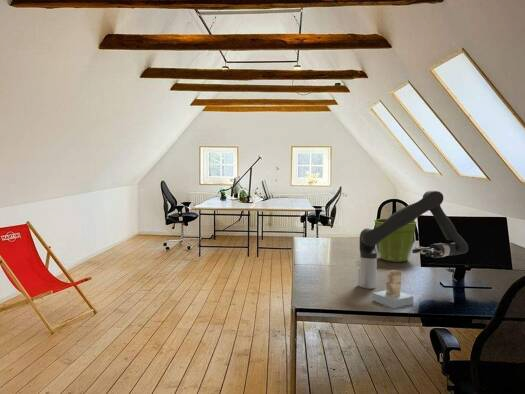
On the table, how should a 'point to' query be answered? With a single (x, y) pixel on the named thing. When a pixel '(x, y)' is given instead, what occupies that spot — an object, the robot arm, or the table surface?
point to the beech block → (393, 283)
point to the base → (393, 299)
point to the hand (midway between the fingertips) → (419, 252)
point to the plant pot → (396, 242)
